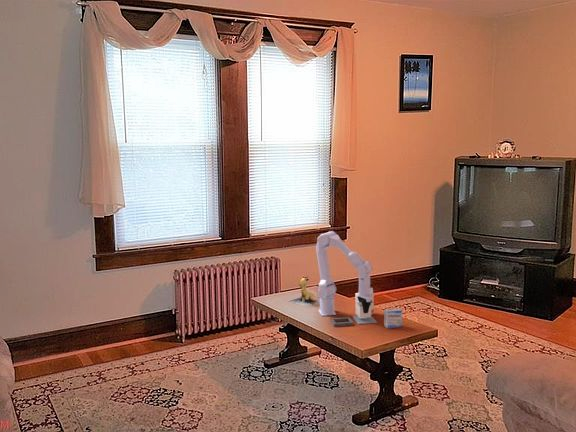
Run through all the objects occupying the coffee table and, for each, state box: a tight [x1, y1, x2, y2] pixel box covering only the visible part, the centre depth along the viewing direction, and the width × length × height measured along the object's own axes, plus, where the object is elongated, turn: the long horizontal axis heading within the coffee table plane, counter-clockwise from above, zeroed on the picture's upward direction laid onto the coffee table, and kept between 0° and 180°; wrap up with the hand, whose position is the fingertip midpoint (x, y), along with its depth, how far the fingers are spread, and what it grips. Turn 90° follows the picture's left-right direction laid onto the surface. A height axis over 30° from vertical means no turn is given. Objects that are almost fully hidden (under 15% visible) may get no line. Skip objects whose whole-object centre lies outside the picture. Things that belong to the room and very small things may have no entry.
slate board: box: [352, 315, 378, 325], centre depth 290 cm, size 11×10×1 cm
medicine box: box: [383, 307, 403, 329], centre depth 279 cm, size 8×4×9 cm, turn 101°
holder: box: [330, 316, 355, 328], centre depth 286 cm, size 8×10×2 cm
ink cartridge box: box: [354, 287, 375, 316], centre depth 298 cm, size 9×5×15 cm, turn 112°
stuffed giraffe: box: [288, 275, 320, 308], centre depth 323 cm, size 16×18×16 cm
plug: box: [356, 302, 372, 318], centre depth 289 cm, size 4×6×7 cm, turn 99°
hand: (364, 311), depth 289 cm, fingers closed on plug, 4 cm apart
